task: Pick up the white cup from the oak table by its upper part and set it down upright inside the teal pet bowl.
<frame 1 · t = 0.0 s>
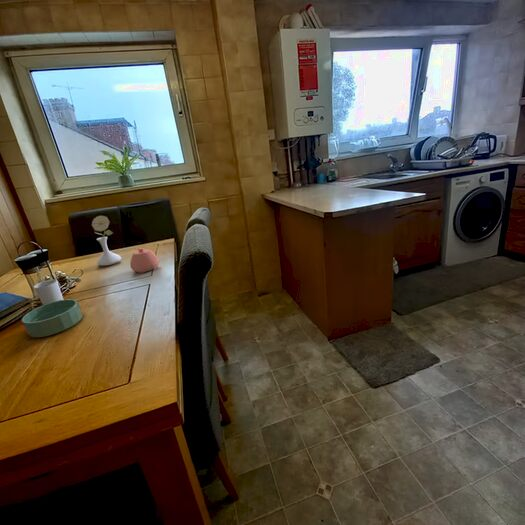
flower in vase: (111, 263, 144), on the table
teal pet bowl: (57, 325, 88), on the table
sugar bowl: (146, 269, 129), on the table
white cup: (56, 309, 99), on the table
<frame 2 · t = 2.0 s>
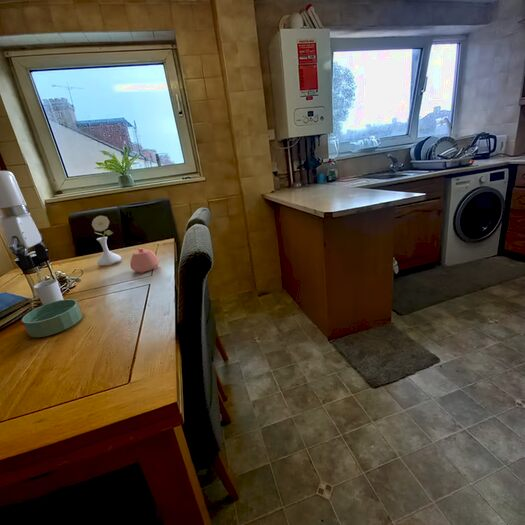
hand: (36, 262, 93), 18 cm above the table, tool pointing down, fingers open, 9 cm apart
nothing on the table moved.
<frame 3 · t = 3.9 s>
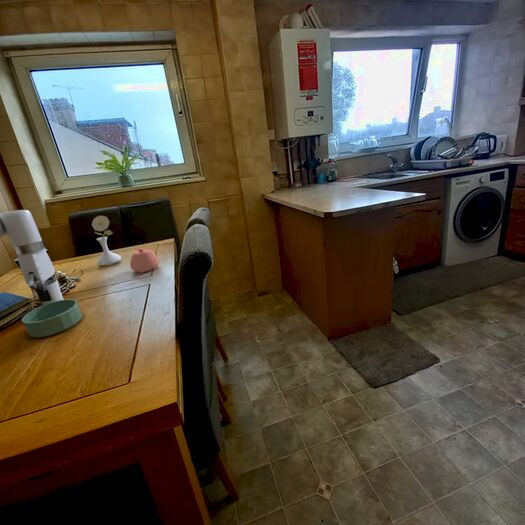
hand: (51, 296, 98), 5 cm above the table, tool pointing down, fingers closed on white cup, 5 cm apart
white cup: (56, 309, 99), on the table, touching gripper
everything else where it was.
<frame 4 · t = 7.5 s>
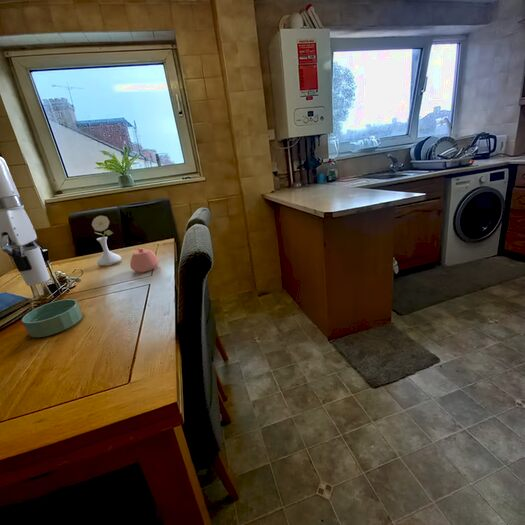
hand: (31, 266, 81), 20 cm above the table, tool pointing down, fingers closed on white cup, 5 cm apart
white cup: (38, 281, 83), point 15 cm above the table, touching gripper
everything else where it was.
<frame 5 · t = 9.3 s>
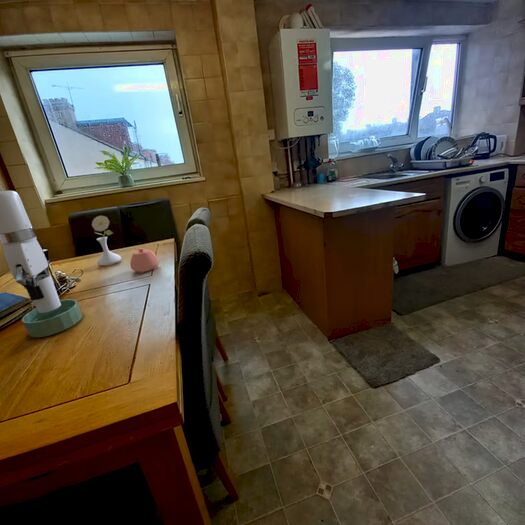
hand: (43, 293, 84), 11 cm above the table, tool pointing down, fingers closed on white cup, 5 cm apart
white cup: (50, 308, 86), point 6 cm above the table, touching gripper
everything else where it was.
when the fingers open (5 cm above the table, at t = 11.0 s): white cup stays where it is, resting on teal pet bowl.
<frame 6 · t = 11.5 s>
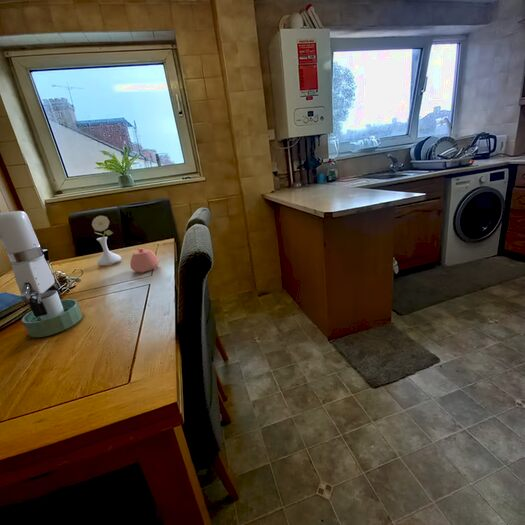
hand: (49, 307, 85), 6 cm above the table, tool pointing down, fingers open, 9 cm apart
white cup: (56, 324, 87), resting on teal pet bowl
everything else where it was.
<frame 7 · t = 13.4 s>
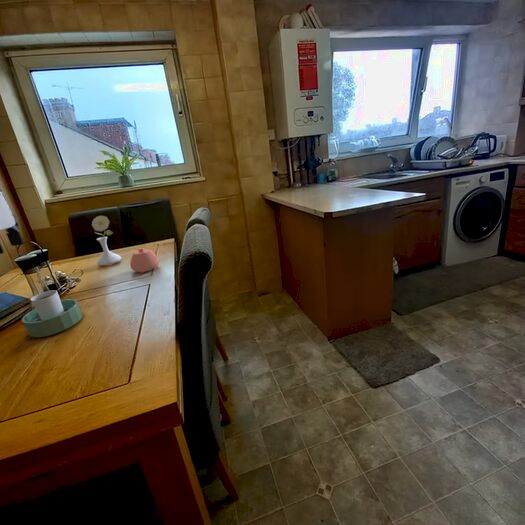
hand: (8, 249, 83), 25 cm above the table, tool pointing down, fingers open, 9 cm apart
nothing on the table moved.
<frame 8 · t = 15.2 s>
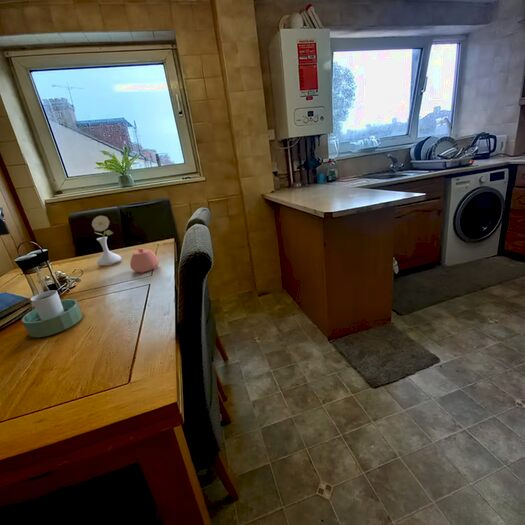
nothing on the table moved.
at the end: white cup inside the target area in the teal pet bowl (0.1 cm from its centre), point 0.4 cm above the teal pet bowl's base; white cup tilted 0°; the gripper is holding nothing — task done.
